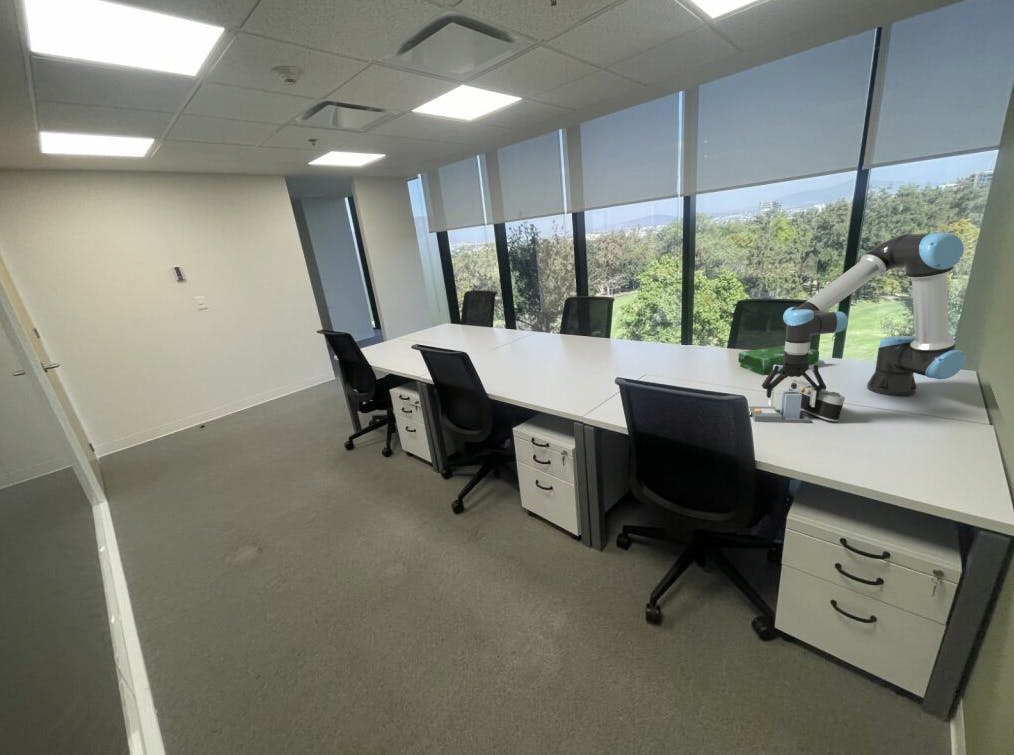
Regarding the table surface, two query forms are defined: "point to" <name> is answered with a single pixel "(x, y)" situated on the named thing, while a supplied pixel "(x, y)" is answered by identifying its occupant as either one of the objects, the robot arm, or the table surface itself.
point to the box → (768, 359)
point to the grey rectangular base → (773, 415)
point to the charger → (790, 404)
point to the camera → (819, 401)
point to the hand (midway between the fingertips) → (790, 405)
